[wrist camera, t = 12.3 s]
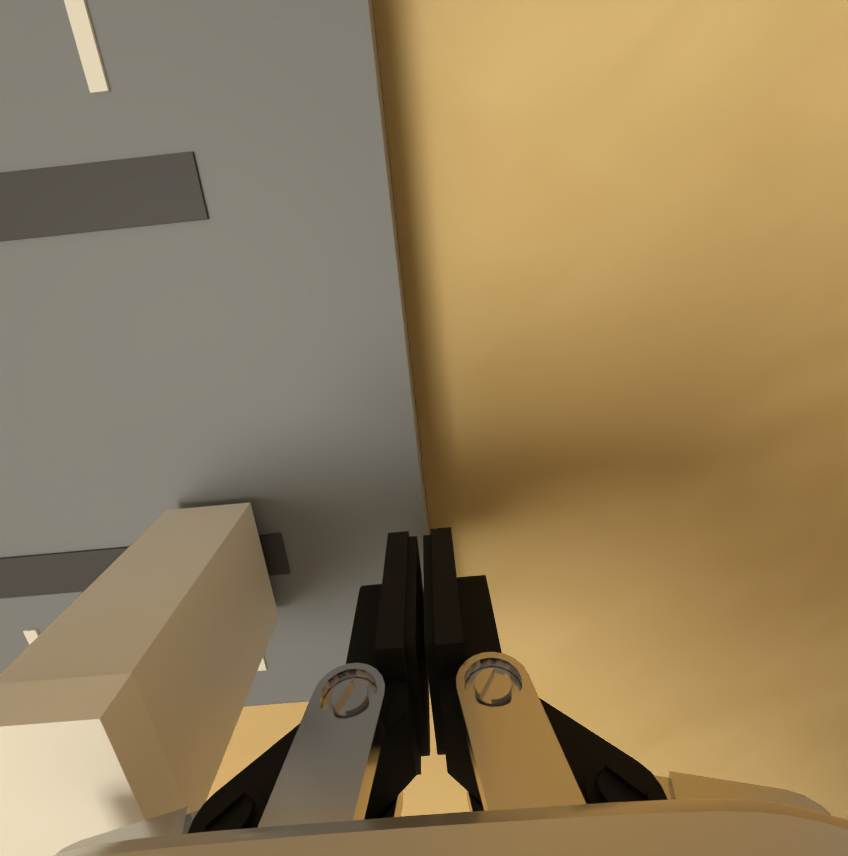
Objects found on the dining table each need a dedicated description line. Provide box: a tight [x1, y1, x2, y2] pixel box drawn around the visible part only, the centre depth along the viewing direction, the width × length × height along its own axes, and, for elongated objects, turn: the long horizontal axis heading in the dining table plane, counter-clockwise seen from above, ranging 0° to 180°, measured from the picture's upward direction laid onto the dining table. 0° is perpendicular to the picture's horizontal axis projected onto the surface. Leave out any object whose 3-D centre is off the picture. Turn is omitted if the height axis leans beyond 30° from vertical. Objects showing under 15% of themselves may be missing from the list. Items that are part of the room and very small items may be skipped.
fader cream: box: [0, 503, 279, 856], centre depth 11 cm, size 3×4×7 cm, turn 6°
